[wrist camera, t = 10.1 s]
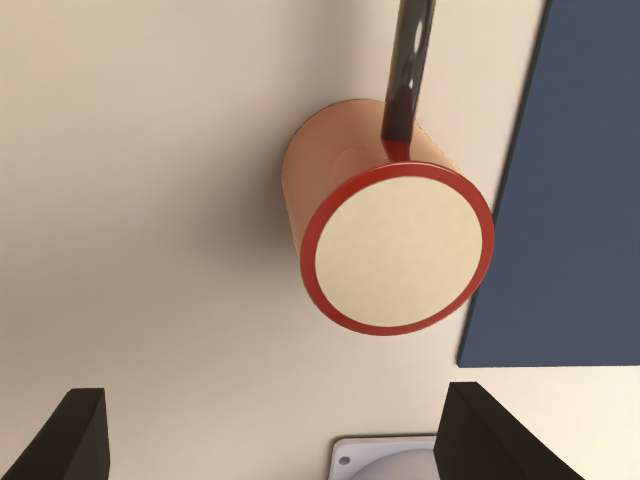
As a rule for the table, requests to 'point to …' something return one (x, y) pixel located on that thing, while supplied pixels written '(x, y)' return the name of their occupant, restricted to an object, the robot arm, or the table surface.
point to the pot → (385, 205)
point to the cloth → (569, 203)
